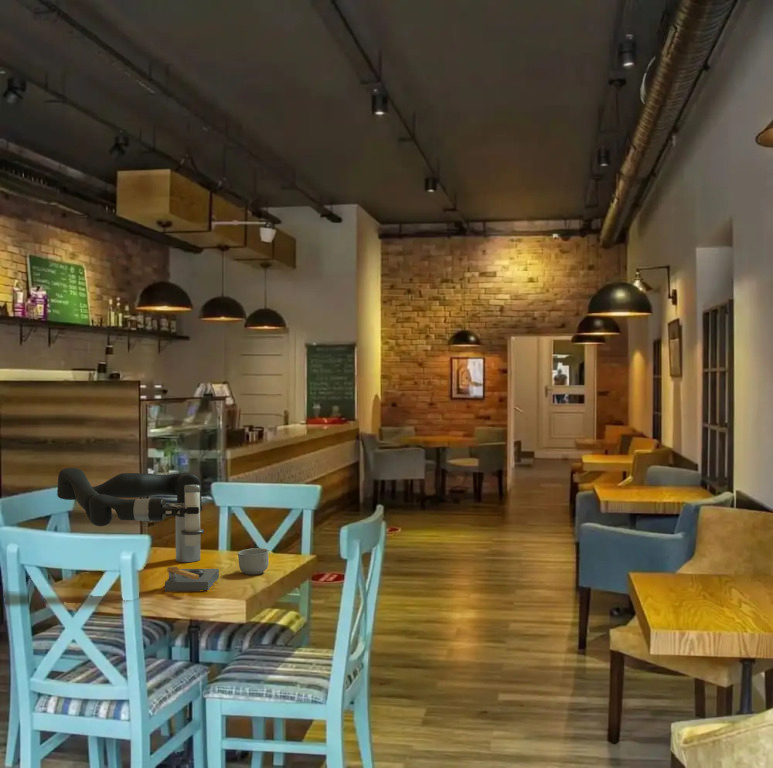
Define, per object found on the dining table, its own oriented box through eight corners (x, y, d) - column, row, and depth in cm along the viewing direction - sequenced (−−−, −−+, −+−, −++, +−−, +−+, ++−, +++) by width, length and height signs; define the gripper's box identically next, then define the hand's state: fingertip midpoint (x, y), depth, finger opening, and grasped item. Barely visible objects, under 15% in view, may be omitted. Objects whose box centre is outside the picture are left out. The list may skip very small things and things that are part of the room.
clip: (174, 569, 290) (174, 566, 290) (201, 578, 277) (201, 574, 277) (165, 571, 288) (165, 567, 288) (192, 580, 275) (192, 576, 275)
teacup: (267, 576, 304) (267, 553, 304) (236, 576, 303) (236, 553, 303) (270, 567, 318) (270, 545, 317) (240, 568, 317) (240, 546, 317)
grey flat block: (178, 577, 302) (177, 563, 302) (218, 577, 302) (218, 562, 302) (164, 591, 282) (164, 576, 282) (208, 591, 282) (208, 575, 282)
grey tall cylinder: (183, 542, 296) (183, 484, 295) (206, 542, 296) (205, 484, 296) (178, 547, 288) (178, 487, 288) (201, 546, 288) (201, 486, 288)
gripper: (155, 517, 299) (204, 517, 299) (144, 524, 284) (196, 523, 285) (155, 495, 299) (204, 495, 299) (144, 501, 284) (196, 501, 285)
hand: (200, 509), depth 292 cm, fingers closed on grey tall cylinder, 5 cm apart
